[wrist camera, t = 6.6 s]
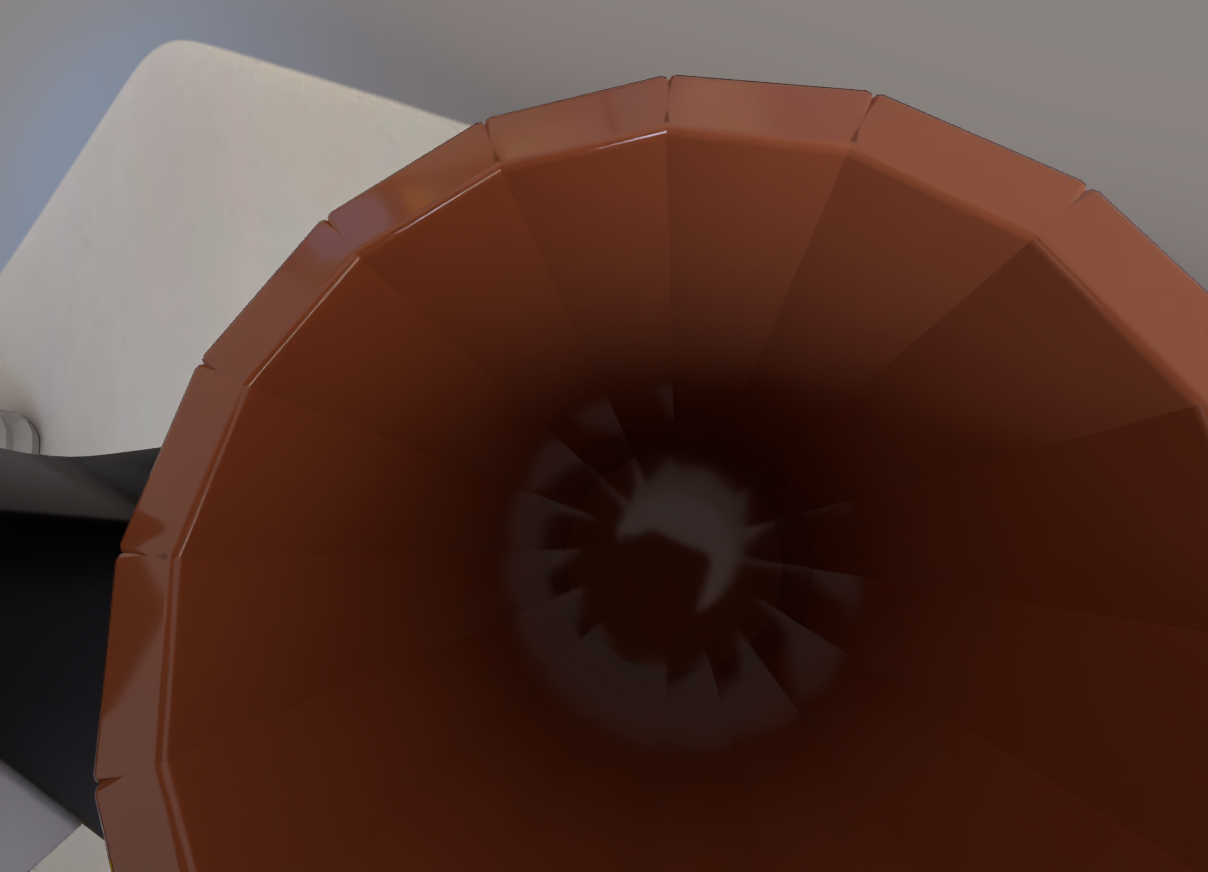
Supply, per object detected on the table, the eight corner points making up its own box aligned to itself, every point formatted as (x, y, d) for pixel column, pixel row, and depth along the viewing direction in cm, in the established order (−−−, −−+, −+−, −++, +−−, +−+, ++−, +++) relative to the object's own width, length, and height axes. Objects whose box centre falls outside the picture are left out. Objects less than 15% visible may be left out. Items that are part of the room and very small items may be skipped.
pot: (630, 729, 14) (332, 1910, 2) (518, 514, 16) (2, 407, 4) (843, 603, 14) (1962, 978, 2) (707, 401, 16) (807, -86, 4)
